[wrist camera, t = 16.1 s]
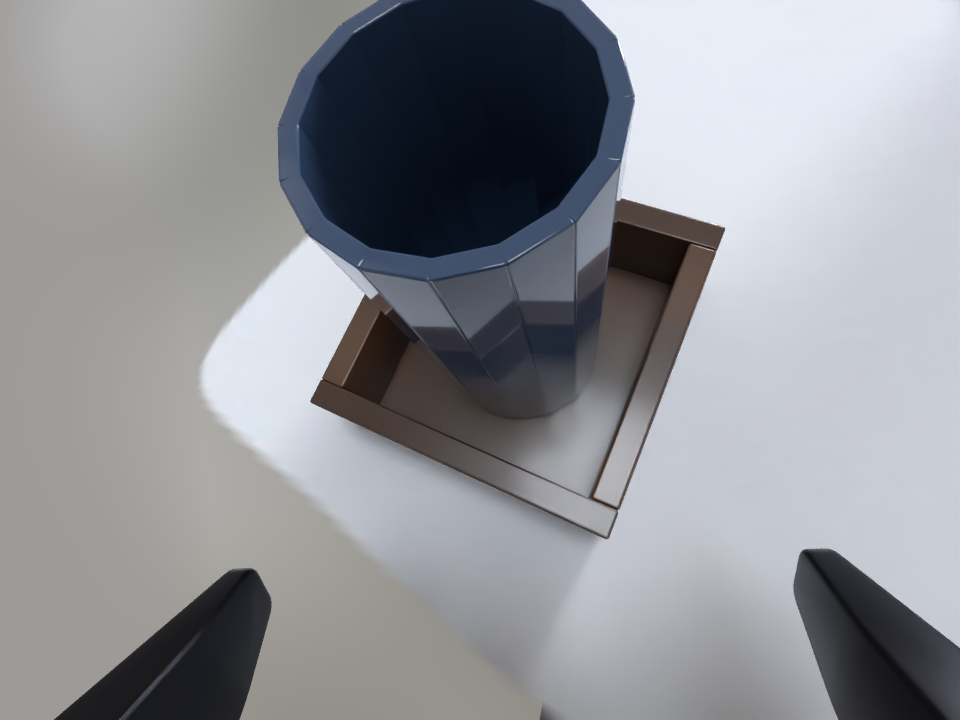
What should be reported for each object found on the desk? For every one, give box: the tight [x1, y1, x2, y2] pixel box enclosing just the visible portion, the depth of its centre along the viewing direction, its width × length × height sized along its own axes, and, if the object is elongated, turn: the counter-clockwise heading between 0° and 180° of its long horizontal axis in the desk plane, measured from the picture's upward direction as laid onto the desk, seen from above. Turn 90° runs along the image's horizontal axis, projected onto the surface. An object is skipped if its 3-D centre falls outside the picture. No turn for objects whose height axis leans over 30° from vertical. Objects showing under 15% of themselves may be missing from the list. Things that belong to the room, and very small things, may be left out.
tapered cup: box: [278, 0, 635, 419], centre depth 15 cm, size 6×6×13 cm
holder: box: [310, 198, 725, 539], centre depth 20 cm, size 11×11×4 cm
